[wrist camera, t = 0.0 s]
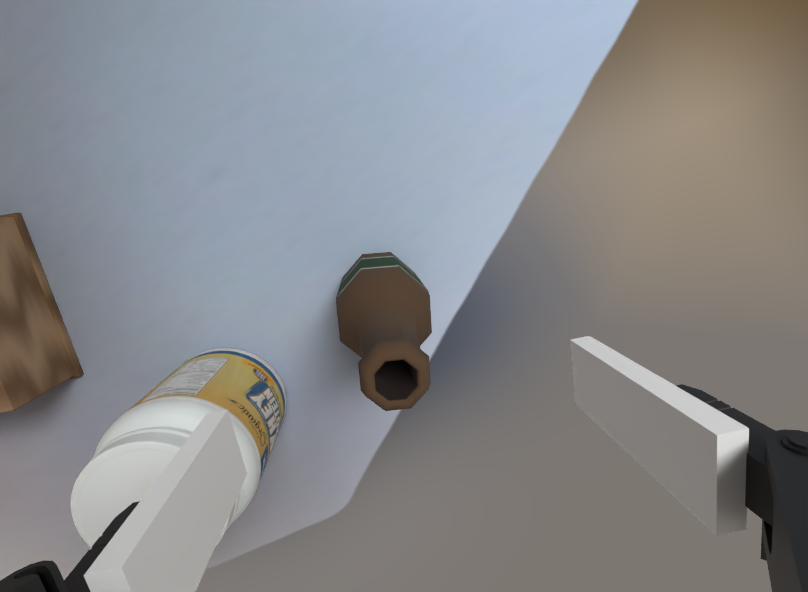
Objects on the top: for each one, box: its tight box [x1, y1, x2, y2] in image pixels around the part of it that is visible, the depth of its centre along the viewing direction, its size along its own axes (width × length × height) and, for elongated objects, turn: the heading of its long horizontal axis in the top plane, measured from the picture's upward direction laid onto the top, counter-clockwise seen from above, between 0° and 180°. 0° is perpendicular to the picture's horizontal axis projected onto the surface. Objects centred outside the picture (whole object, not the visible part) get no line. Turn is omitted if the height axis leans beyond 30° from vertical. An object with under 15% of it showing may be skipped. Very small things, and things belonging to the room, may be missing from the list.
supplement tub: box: [71, 348, 286, 549], centre depth 35 cm, size 12×12×17 cm
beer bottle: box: [336, 252, 432, 411], centre depth 31 cm, size 8×8×24 cm
